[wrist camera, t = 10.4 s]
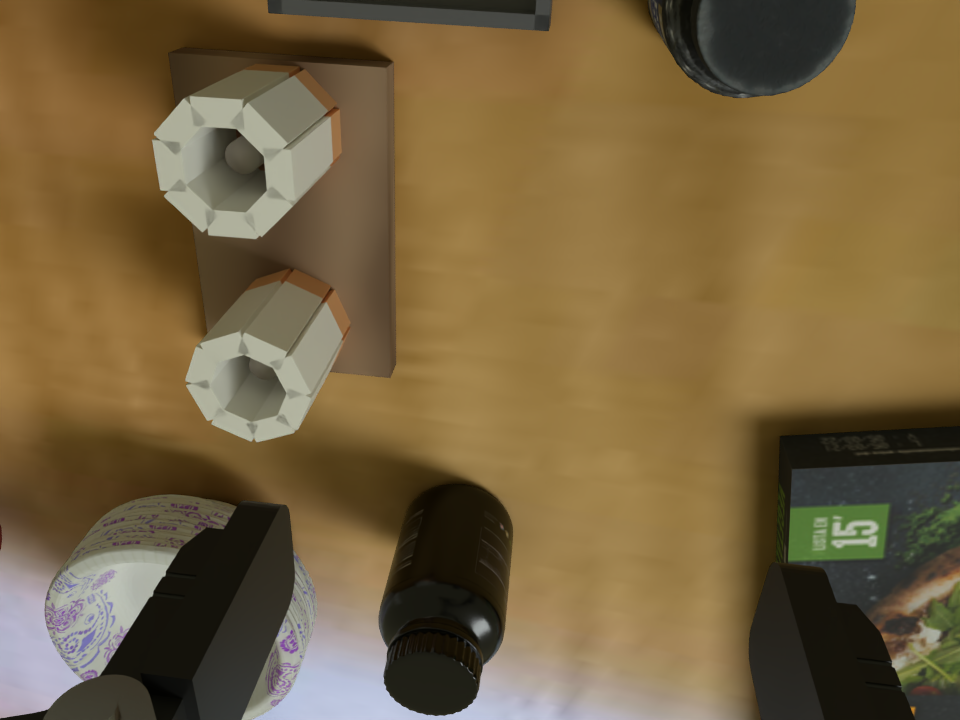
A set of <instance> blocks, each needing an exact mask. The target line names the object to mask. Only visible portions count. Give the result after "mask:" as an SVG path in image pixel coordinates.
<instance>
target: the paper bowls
mask: <svg viewBox="0 0 960 720" xmlns="http://www.w3.org/2000/svg"><path fill="white" fill-rule="evenodd" d="M236 507H237V506H234V505H231V504H229V503H225V502H221V501H217V500H211V499H203V498H199V497H192V496H185V495H173V494H169V495H155V496H150V497H144V498H140V499H136V500H133V501H130V502H128V503H125V504H122V505H120V506H118V507H116V508H114V509H113V510H111V511H110V512H108V513H107V514H105V515H104V516H103V517H102V518H101V519H100V520H99V521H97V523H96V524H95V525H94V526H93V527H92V528H91V529H90V530H89V532H88V533H87V534H86V536H85V537H84V538H83V540H82V541H81V542H80V543H79V545H78V546H77V547H76V548H75V550H74V551H73V552H72V554H71V556H70V558H69V559H68V560H67V561H66V563H65V564H64V565H63V566H62V567H61V568H60V570H59V571H58V572H57V574H56V576H55V577H54V579H53V580H52V582H51V585H50V587H49V590H48V592H47V597H46V601H45V619H46V625H47V628H48V631H49V634H50V637H51V639H52V642H53V644H54V645H55V647H56V649H57V651H58V652H59V654H60V655H61V657H62V659H63V660H64V661H65V662H66V664H67V665H68V666H69V667H70V668H71V669H72V670H73V672H74V673H75V674H76V675H78V676H79V677H80V678H81V679H82V680H83V681H86V680H89V679H92V678H95V677H99V676H100V674H101V673H102V671H103V670H104V669H105V667H106V666H107V664H108V662H109V661H110V659H111V658H112V656H113V654H114V653H115V651H116V650H117V648H118V647H119V645H120V643H121V642H122V640H123V639H124V637H125V635H126V634H127V632H128V631H129V629H130V627H131V626H132V624H133V623H134V621H135V620H136V618H137V616H138V615H139V613H140V612H141V610H142V608H143V607H144V605H145V604H146V602H147V601H148V599H149V597H152V596H153V591H154V589H155V588H156V586H157V585H158V583H159V582H160V580H161V578H162V577H165V575H166V570H167V569H168V567H169V566H170V564H171V563H172V561H173V559H174V558H175V556H176V555H177V553H178V551H179V550H180V548H181V547H182V546H183V545H185V544H186V543H187V542H188V541H190V540H191V539H192V538H194V537H195V536H196V535H197V534H199V533H200V532H201V531H202V530H204V529H205V528H206V527H208V528H217V529H224V528H225V526H226V524H227V522H228V521H229V519H230V517H231V516H232V514H233V512H234V510H235V509H236ZM293 554H294V565H295V583H294V590H293V595H292V599H291V603H290V606H289V609H288V611H287V614H286V616H285V618H284V621H283V623H282V625H281V628H280V630H279V632H278V635H277V637H276V639H275V642H274V644H273V647H272V649H271V651H270V654H269V656H268V658H267V661H266V663H265V665H264V668H263V670H262V672H261V675H260V677H259V680H258V682H257V684H256V687H255V689H254V691H253V694H252V696H251V698H250V701H249V703H248V706H247V708H246V710H245V713H244V715H243V717H242V720H251V719H254V718H256V717H258V716H260V715H263V714H264V713H266V712H268V711H269V710H271V709H272V708H273V707H275V706H276V705H278V703H279V702H280V701H281V700H282V699H284V697H285V696H286V695H287V694H288V693H289V691H290V690H291V688H292V687H293V685H294V682H295V680H296V676H297V674H298V673H299V670H300V666H301V663H302V661H303V658H304V656H305V652H306V648H307V646H308V643H309V641H310V638H311V634H312V631H313V627H314V624H315V619H316V616H317V600H316V593H315V588H314V586H313V583H312V579H311V577H310V576H309V572H308V571H306V570H305V567H304V565H303V563H302V562H301V560H300V559H299V557H298V556H297V555H296V553H295V551H294V550H293Z"/></svg>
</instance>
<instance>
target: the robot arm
mask: <svg viewBox="0 0 960 720" xmlns="http://www.w3.org/2000/svg"><path fill="white" fill-rule="evenodd" d="M294 583H295V565H294V554H293V544H292V533H291V523H290V513H289V509H288V507H287V506H286V505H281V504H272V503H263V502H254V501H245V500H244V501H241V502H240V503H239V504H238V506H237V507H236V509H235V510H234V512H233V514H232V516H231V517H230V519H229V521H228V522H227V524H226V526H225V528H224V529H217V528H208V527H206V528H205V529H204V530H202V531H201V532H200V533H199V534H197V535H196V536H195V537H194V538H192V539H191V540H190V541H188V542H187V543H186V544H185V545H183V546H182V547H181V548H180V550H179V551H178V553H177V555H176V556H175V558H174V559H173V561H172V563H171V564H170V566H169V567H168V569H167V570H166V575H165V577H162V578H161V580H160V582H159V583H158V585H157V586H156V588H155V589H154V591H153V596H152V597H149V599H148V601H147V602H146V604H145V605H144V607H143V608H142V610H141V612H140V613H139V615H138V616H137V618H136V620H135V621H134V623H133V624H132V626H131V627H130V629H129V631H128V632H127V634H126V635H125V637H124V639H123V640H122V642H121V643H120V645H119V647H118V648H117V650H116V651H115V653H114V654H113V656H112V658H111V659H110V661H109V662H108V664H107V666H106V667H105V669H104V670H103V671H102V673H101V674H100V676H99V677H95V678H92V679H89V680H86V681H84V682H82V683H79V684H78V685H76V686H74V687H73V688H71V689H69V690H68V691H67V692H65V693H64V694H63V695H62V696H60V697H59V698H58V699H57V700H56V701H55V702H54V703H53V705H52V706H51V707H50V708H49V709H48V710H45V711H41V712H36V713H32V714H25V715H19V716H13V717H7V718H0V720H242V717H243V715H244V713H245V710H246V708H247V706H248V703H249V701H250V698H251V696H252V694H253V691H254V689H255V687H256V684H257V682H258V680H259V677H260V675H261V672H262V670H263V668H264V665H265V663H266V661H267V658H268V656H269V654H270V651H271V649H272V647H273V644H274V642H275V639H276V637H277V635H278V632H279V630H280V628H281V625H282V623H283V621H284V618H285V616H286V614H287V611H288V609H289V606H290V603H291V599H292V595H293V590H294ZM749 662H750V668H751V673H752V678H753V683H754V687H755V692H756V697H757V702H758V706H759V711H760V716H761V720H915V717H914V715H913V712H912V710H911V707H910V705H909V702H908V700H907V697H906V695H905V692H902V685H901V682H900V680H899V677H898V675H897V672H896V670H895V668H894V667H892V660H891V657H890V655H889V652H888V650H887V647H886V645H885V642H884V640H883V637H882V635H881V632H880V631H879V630H878V629H877V628H876V627H875V625H874V624H873V623H872V622H871V621H870V620H869V619H868V617H867V616H866V615H865V614H864V613H863V612H862V611H861V609H860V608H859V607H858V606H857V605H855V604H847V603H838V602H837V601H836V599H835V596H834V593H833V590H832V587H831V585H830V582H829V579H828V576H827V574H826V572H825V570H824V569H823V568H821V567H814V566H805V565H797V564H788V563H779V562H773V563H772V564H771V566H770V568H769V570H768V573H767V576H766V580H765V583H764V586H763V589H762V593H761V596H760V599H759V603H758V606H757V609H756V613H755V616H754V619H753V623H752V626H751V630H750V637H749Z"/></svg>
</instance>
